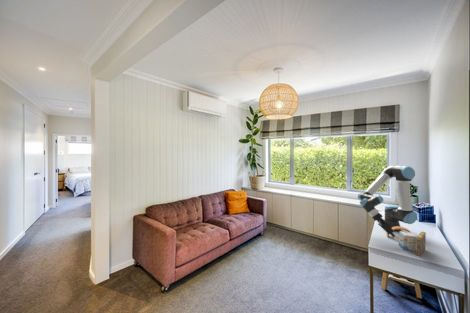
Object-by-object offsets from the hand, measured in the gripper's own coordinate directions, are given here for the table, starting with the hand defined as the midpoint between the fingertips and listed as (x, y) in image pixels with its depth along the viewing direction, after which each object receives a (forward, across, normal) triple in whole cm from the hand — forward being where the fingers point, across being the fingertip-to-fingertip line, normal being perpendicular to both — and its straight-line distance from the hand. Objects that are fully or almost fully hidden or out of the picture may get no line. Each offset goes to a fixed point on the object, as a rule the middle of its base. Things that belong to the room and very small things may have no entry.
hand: (398, 240), depth 168 cm
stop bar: (+13, -1, +7) cm, 15 cm away
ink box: (+7, -2, 0) cm, 8 cm away
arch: (+1, -21, -6) cm, 22 cm away
